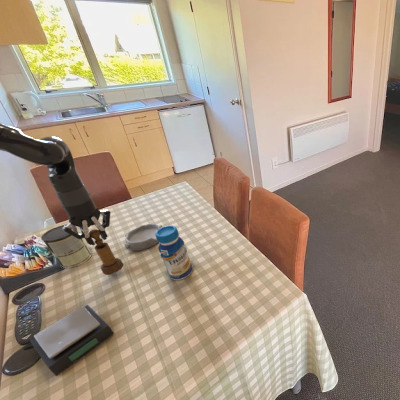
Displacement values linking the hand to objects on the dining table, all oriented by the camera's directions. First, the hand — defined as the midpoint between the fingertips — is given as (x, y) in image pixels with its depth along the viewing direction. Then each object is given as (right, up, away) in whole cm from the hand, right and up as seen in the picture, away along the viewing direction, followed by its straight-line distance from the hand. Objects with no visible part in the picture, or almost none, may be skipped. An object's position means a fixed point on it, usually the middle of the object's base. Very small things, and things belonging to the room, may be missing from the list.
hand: (98, 241), depth 94 cm
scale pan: (+7, -23, -18) cm, 30 cm away
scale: (+7, -27, -16) cm, 32 cm away
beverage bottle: (+26, -13, +7) cm, 30 cm away
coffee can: (-21, -10, +14) cm, 27 cm away
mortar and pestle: (0, -12, +7) cm, 13 cm away
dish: (+1, -4, +24) cm, 24 cm away
